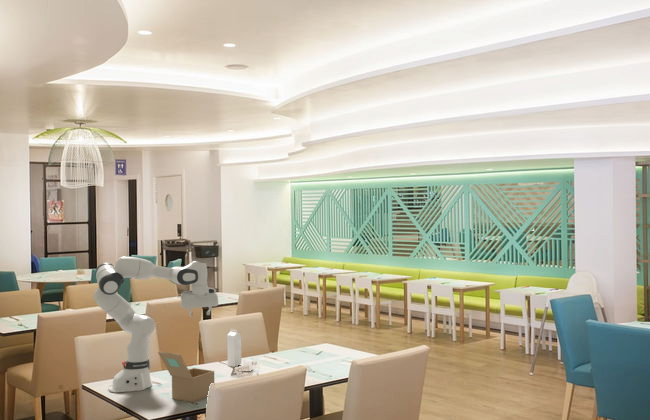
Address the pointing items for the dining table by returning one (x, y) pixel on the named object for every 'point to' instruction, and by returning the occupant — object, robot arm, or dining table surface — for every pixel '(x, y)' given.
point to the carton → (192, 385)
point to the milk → (234, 348)
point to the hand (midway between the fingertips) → (199, 315)
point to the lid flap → (175, 365)
